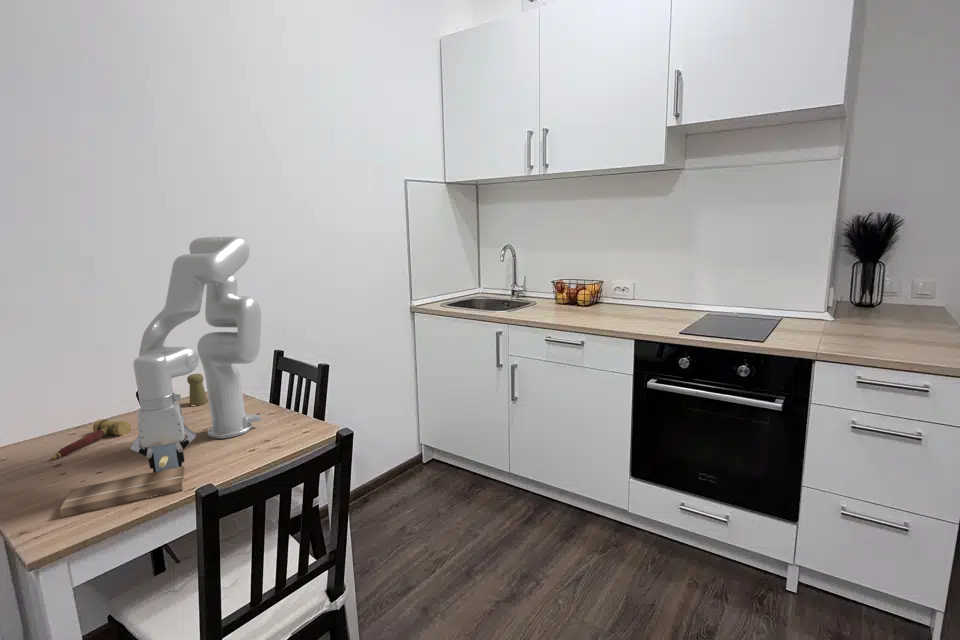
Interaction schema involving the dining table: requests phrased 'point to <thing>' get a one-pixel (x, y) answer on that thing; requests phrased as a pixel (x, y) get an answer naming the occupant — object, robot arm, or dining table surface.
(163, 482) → the board
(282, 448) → the dining table surface
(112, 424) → the gavel
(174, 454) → the blue block with stick
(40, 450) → the dining table surface
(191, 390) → the cork
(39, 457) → the dining table surface
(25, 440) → the dining table surface
